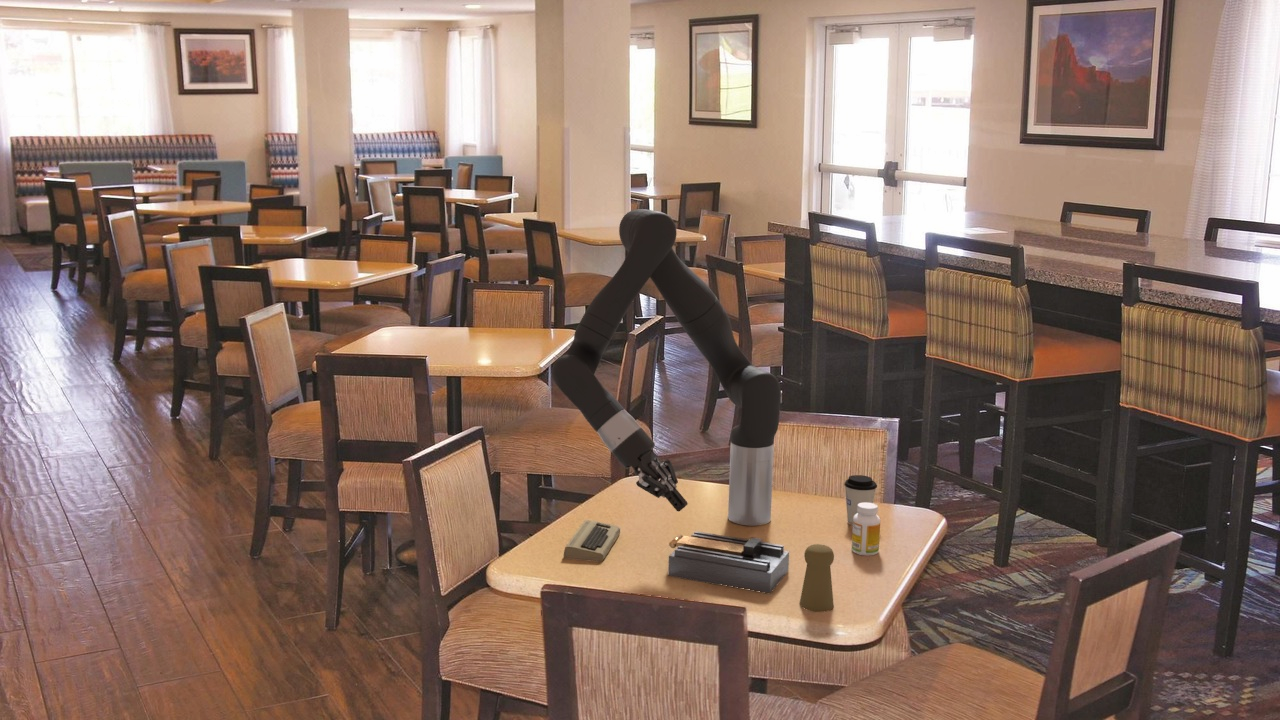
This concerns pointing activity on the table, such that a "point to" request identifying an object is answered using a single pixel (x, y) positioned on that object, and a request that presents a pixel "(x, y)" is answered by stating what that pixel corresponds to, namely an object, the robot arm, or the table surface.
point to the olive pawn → (817, 579)
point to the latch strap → (707, 545)
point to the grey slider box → (732, 564)
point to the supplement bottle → (866, 529)
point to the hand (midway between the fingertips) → (683, 507)
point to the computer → (591, 541)
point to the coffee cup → (858, 493)
